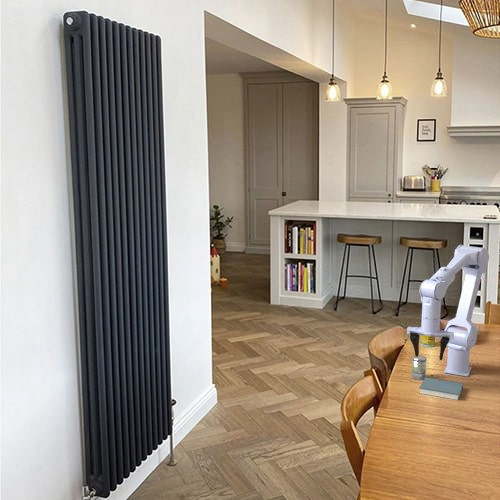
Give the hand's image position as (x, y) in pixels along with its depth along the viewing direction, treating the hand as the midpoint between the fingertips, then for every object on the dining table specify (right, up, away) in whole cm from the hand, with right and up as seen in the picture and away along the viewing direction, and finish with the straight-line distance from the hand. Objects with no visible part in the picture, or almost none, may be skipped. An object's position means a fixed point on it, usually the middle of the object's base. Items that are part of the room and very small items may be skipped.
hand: (428, 357), depth 203 cm
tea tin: (-1, -8, +8) cm, 12 cm away
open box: (+27, -1, +54) cm, 60 cm away
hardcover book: (+3, -11, -3) cm, 11 cm away
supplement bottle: (+12, -3, +43) cm, 45 cm away
